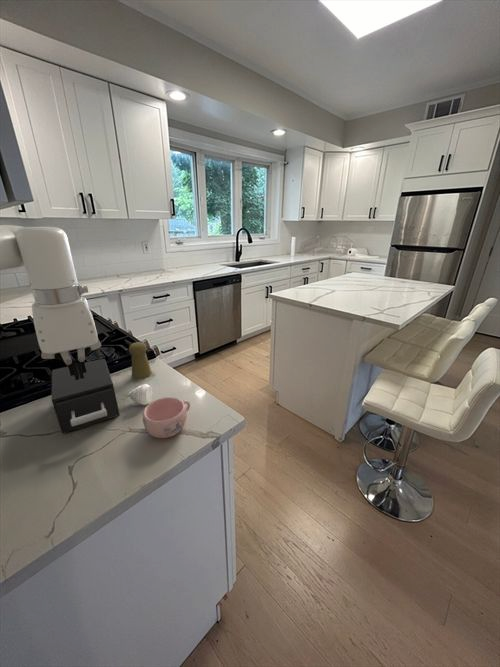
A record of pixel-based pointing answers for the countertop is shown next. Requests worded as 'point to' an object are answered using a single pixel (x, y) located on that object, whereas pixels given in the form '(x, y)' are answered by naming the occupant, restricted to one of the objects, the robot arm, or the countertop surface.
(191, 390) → the countertop surface
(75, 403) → the dark grey drawer
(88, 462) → the countertop surface
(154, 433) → the mug
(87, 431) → the countertop surface
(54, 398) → the drawer cabinet
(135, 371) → the cork
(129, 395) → the garlic bulb
